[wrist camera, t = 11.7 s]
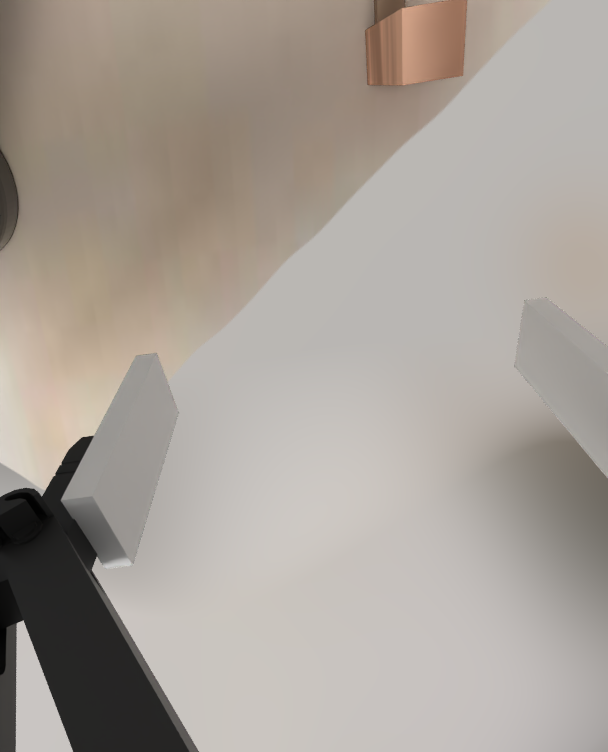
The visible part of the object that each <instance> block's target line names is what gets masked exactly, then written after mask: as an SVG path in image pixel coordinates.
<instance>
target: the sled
mask: <svg viewBox="0 0 608 752" xmlns="http://www.w3.org/2000/svg"><path fill="white" fill-rule="evenodd" d="M466 10H467V0H448V1H442V2H436V3H430V4H424V5H418V6H412V7H406V8H405V0H374V14H375V25H373V26H372V27H370V28H368V29H367V30H365V36H366V58H367V81H368V85H408V84H414V83H420V82H427V81H433V80H439V79H445V78H452V77H458V76H463V66H464V47H465V29H466Z"/></svg>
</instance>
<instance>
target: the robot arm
mask: <svg viewBox="0 0 608 752" xmlns="http://www.w3.org/2000/svg"><path fill="white" fill-rule="evenodd" d="M17 213H18V203H17V194H16V189H15V185H14V181H13V178H12V175H11V172H10V170H9V167H8V165H7V163H6V161H5V159H4V157H3V155H2V153H1V152H0V250H1V249H2V248H3V247H4V246H5V245H6V244H7V242H8V241H9V239H10V237H11V235H12V233H13V231H14V228H15V225H16V220H17ZM514 366H515V368H516V369H517V370H518V371H519V373H520V374H521V375H522V376H523V377H524V379H525V380H526V381H527V382H528V383H529V385H530V386H531V387H532V388H533V389H534V391H535V392H536V393H537V394H538V395H539V397H540V398H541V399H542V400H543V401H544V403H545V404H546V405H547V406H548V407H549V409H550V410H551V411H552V412H553V413H554V415H555V416H556V417H557V418H558V419H559V420H560V422H561V423H562V424H563V425H564V426H565V428H566V429H567V430H568V431H569V432H570V434H571V435H572V436H573V437H574V438H575V440H576V441H577V442H578V443H579V444H580V446H581V447H582V448H583V449H584V450H585V452H586V453H587V454H588V455H589V456H590V457H591V459H592V460H593V461H594V462H595V464H596V465H597V466H598V467H599V468H600V470H601V471H602V472H603V473H604V474H605V476H606V477H607V478H608V346H607V345H606V344H604V343H603V342H602V341H601V340H599V339H598V338H597V337H596V336H594V335H593V334H592V333H591V332H589V331H588V330H587V329H586V328H584V327H583V326H582V325H581V324H579V323H578V322H577V321H575V320H574V319H573V318H572V317H570V316H569V315H568V314H567V313H565V312H564V311H563V310H562V309H560V308H559V307H558V306H557V305H555V304H554V303H553V302H552V301H550V300H549V299H548V298H547V297H545V298H538V299H531V300H525V301H524V306H523V313H522V319H521V325H520V332H519V338H518V345H517V351H516V358H515V365H514ZM178 414H179V412H178V409H177V406H176V403H175V401H174V398H173V396H172V393H171V390H170V387H169V385H168V382H167V379H166V376H165V374H164V371H163V368H162V366H161V363H160V360H159V358H158V355H157V353H153V354H146V355H139V356H136V357H135V359H134V361H133V362H132V364H131V366H130V368H129V370H128V372H127V374H126V376H125V378H124V380H123V382H122V384H121V385H120V387H119V389H118V391H117V393H116V395H115V397H114V399H113V401H112V403H111V405H110V407H109V408H108V410H107V412H106V414H105V416H104V418H103V420H102V422H101V424H100V426H99V428H98V430H97V431H96V433H95V435H94V436H88V437H82V438H81V439H80V440H79V441H78V442H77V443H76V444H74V445H73V446H72V447H71V448H70V449H69V451H68V452H67V454H66V456H65V458H64V459H63V461H62V465H60V466H59V468H58V470H57V472H56V473H55V474H56V476H54V477H53V479H52V480H51V482H50V484H49V486H48V487H47V489H46V491H45V493H44V494H43V496H42V497H41V495H40V494H39V493H38V492H37V491H36V490H35V489H30V488H23V489H18V490H14V491H12V492H10V493H7V494H5V495H3V496H1V497H0V752H15V746H16V738H15V737H16V624H17V623H18V622H20V621H23V620H24V623H25V625H26V628H27V631H28V633H29V636H30V639H31V641H32V644H33V646H34V649H35V651H36V654H37V657H38V660H39V662H40V665H41V668H42V670H43V673H44V676H45V678H46V681H47V683H48V686H49V689H50V691H51V694H52V697H53V699H54V702H55V704H56V707H57V710H58V712H59V715H60V718H61V720H62V723H63V726H64V728H65V731H66V734H67V736H68V739H69V741H70V744H71V747H72V749H73V752H199V751H198V750H197V748H196V746H195V744H194V743H193V741H192V739H191V738H190V736H189V734H188V732H187V731H186V729H185V727H184V726H183V724H182V722H181V721H180V719H179V717H178V715H177V714H176V712H175V710H174V709H173V707H172V705H171V703H170V702H169V700H168V698H167V697H166V695H165V693H164V692H163V690H162V688H161V686H160V685H159V683H158V681H157V680H156V678H155V676H154V675H153V673H152V671H151V670H150V668H149V666H148V664H147V663H146V661H145V659H144V658H143V656H142V654H141V652H140V651H139V649H138V647H137V646H136V644H135V642H134V641H133V639H132V637H131V635H130V634H129V632H128V630H127V629H126V627H125V625H124V624H123V622H122V620H121V618H120V617H119V615H118V613H117V612H116V610H115V608H114V607H113V605H112V603H111V602H110V600H109V598H108V597H107V595H106V593H105V591H104V590H103V588H102V586H101V584H100V583H99V581H98V579H97V578H96V576H95V575H94V573H93V572H92V567H93V565H94V562H95V559H96V557H98V558H99V560H100V562H101V563H102V565H103V566H104V568H105V569H108V568H116V567H124V566H131V565H133V564H134V560H135V557H136V553H137V550H138V547H139V544H140V540H141V537H142V534H143V530H144V527H145V523H146V520H147V517H148V514H149V510H150V507H151V504H152V500H153V497H154V494H155V490H156V487H157V484H158V480H159V477H160V473H161V470H162V467H163V464H164V460H165V457H166V454H167V450H168V447H169V444H170V440H171V437H172V434H173V431H174V427H175V424H176V420H177V417H178Z"/></svg>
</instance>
